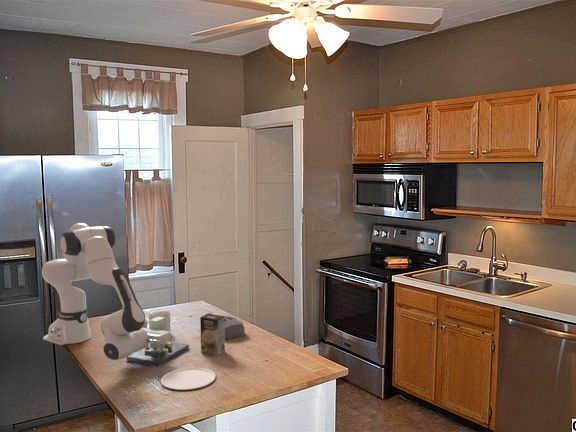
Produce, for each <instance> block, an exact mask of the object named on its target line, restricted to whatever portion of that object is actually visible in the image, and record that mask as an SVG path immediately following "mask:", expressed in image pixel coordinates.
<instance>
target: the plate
mask: <svg viewBox="0 0 576 432" xmlns="http://www.w3.org/2000/svg"><path fill="white" fill-rule="evenodd" d="M216 376H217V375H216V373H215V372H214V371H213V370H210V369H208V368H205V367H192V366H191V367H182V368H177V369H175V370H172V371H169V372H167V373H166V374H164V375H163V376H162V377H161V378H160V385H162V386H163V387H164V388H166V389H169V390H175V391H193V390H200V389H202V388H204V387H207V386H209V385H211V384H212V383H214V381H216V378H217V377H216Z"/></svg>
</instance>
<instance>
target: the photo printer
mask: <svg viewBox="0 0 576 432" xmlns="http://www.w3.org/2000/svg"><path fill="white" fill-rule="evenodd" d="M148 314H149V315H148V321H149V320H151V319H153V318H156V317H166V331H170V332H171V312H170V310H168V309H157V310H153V311H151V312H150V313H148ZM148 328H150V327H148Z"/></svg>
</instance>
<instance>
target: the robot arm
mask: <svg viewBox="0 0 576 432" xmlns="http://www.w3.org/2000/svg"><path fill="white" fill-rule="evenodd" d="M115 244H116V234H115V231H114V229H113V228H112V227H110V226H107V225H106V226H105V225H101V226H89V225H88V224H86V223H84V222H79V223H78V222H77V223H75V224H73V225H71V227H70V228H69V230H67V231H66V232H63V233H62V235H61V237H60V248H61V249H62V256H63V258H56V259H52V260H49V261H47V262H45V263H44V264H43V265H42V267H41V275H42V279H44V281H45V282H47V283H48V284H49V285H52V287H54V288H55V290H56V291H57V292H58V295H59V300H60V310H59V311H57V315H58V318H57V319H56V320H55V321H54V322H53V323H51V324H50V325H49V327H48V330H47V331H48V334H45V336H43V338H42V340H44V341H45V342H50V343H53V344H56V345H59V346H62V345H63V346H64V345H67V344H76V343H77V344H78V343H83V342H86V341H88V340H90V339H91V338H92V337H93V336H92V332H91V330H90V323H89V318H88V317H89V316H88V315H89V314H88V313H89V311H88V307H87V297H86V296H87V295H86V294H87V293H86V292H85V291H84V290H83V289H82V288H79V287H76V286H73V284H72V283H73V282H75V281H82V280H84V281H85V280H88V279H90V280H92V281H93V282H95V283H96V284H100V285H109V286H112V287H113V288H114V289H115V291H116V294H117V296H118V298H119V300H120V302H121V305H122V309H120V310H118V311H114V312H112V313H110V314H107V315H106V316H104V317H103V319H102V321H101V324H100V326H101V332H102V335H103V336H104V344H103V349H102V350H103V353H104V355H105V357H106V358H108V359H110V360H112V361H119V360H123V359H126V358H127V357H128V356H130V355H131V354H133V353H135V352H138V351H140V350H142V349H144V348H146V347H147V346H148V344H149V345H150V343H152V344H162V343H165V342H167V341H168V342H171V340H172V334H171V330H170V331H166V329H164V328H162V329H160V330H156V329H150V328H149V327H147V328H142V327H143V325H144V322H145V320H146V314H145V312H144V311H143V310H144V309H142V307H141V305H140V304H139V300H138V299H137V297H136V295H135V292H134V290H133V287H132V284H131V282H130V280H129V278H128V276H127V273H126V272H125V271H124V270H123V269H122V268H120V267H119V266H118V264H117V262H116V258H115V255H114V252H113V249H112V248H113V247H115Z"/></svg>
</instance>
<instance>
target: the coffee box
mask: <svg viewBox="0 0 576 432" xmlns="http://www.w3.org/2000/svg"><path fill="white" fill-rule="evenodd" d="M225 316H226V315H221V314H220V315H219V314H215V313H214V314H213V313H206V314H204V315H202V316H201V317H200V319H199V321H200V353H203V354H208V355H211V356H217V357H218V356H219V355H221V354H222V353H223V354H224V352H225V351H226V339H225Z"/></svg>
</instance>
